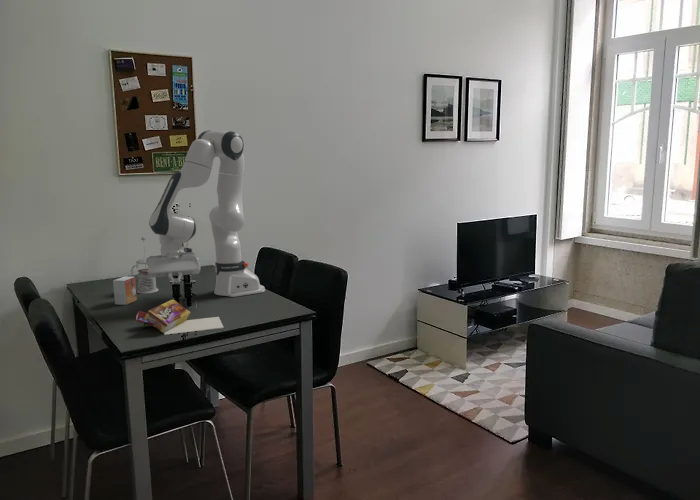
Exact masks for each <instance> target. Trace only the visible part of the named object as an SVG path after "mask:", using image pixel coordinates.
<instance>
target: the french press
mask: <svg viewBox="0 0 700 500" xmlns="http://www.w3.org/2000/svg"><path fill="white" fill-rule="evenodd" d="M140 239H141V241H143V242H145V240H146V237H143V236H142V237H141V238H140ZM143 250H144V251H143V252H144V253H143V254H144V255H146V249H145V247H143ZM147 258H148V257H143V258H140V259H138V260H137V261H136V262H135V263H136V264H135V265H133V266H132V267H131V268H130V277H135V275H134V268H137V269H138V268H139V265H145V268H141V269H138V270H137V272H138V273H137V277H135V282H136V281H137V288H138V289H136V294H144V295H145V294H153V293H156V292H158V291H159V288H158V287H157V282H156V281H157V280H156V278H157V277H150V276H148V267H147V264H146V259H147Z"/></svg>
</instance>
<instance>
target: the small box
mask: <svg viewBox="0 0 700 500" xmlns="http://www.w3.org/2000/svg"><path fill="white" fill-rule="evenodd" d="M136 284H137V283H136V277H135V276H133V277H132V276H122V277H120V278H116V279H114V280H112V285H113V295H114V297H113V298H114V304H115V305H120V306H121V305H123V306H126V305H129V304H131V303H133V302H136V301H137V300H138V298H137V285H136Z"/></svg>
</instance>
